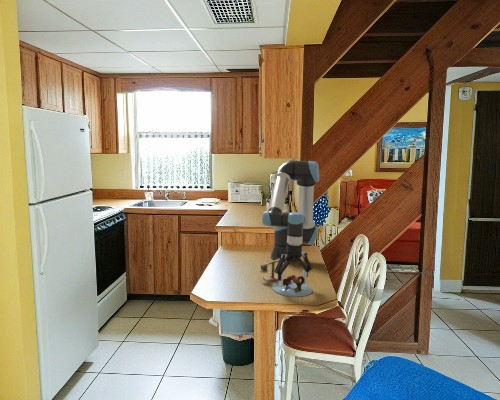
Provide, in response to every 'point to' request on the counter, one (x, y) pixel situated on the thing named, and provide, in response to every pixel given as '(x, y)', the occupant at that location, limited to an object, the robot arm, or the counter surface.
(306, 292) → the plate
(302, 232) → the robot arm
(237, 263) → the counter surface
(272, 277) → the balance
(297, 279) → the pottery mug
